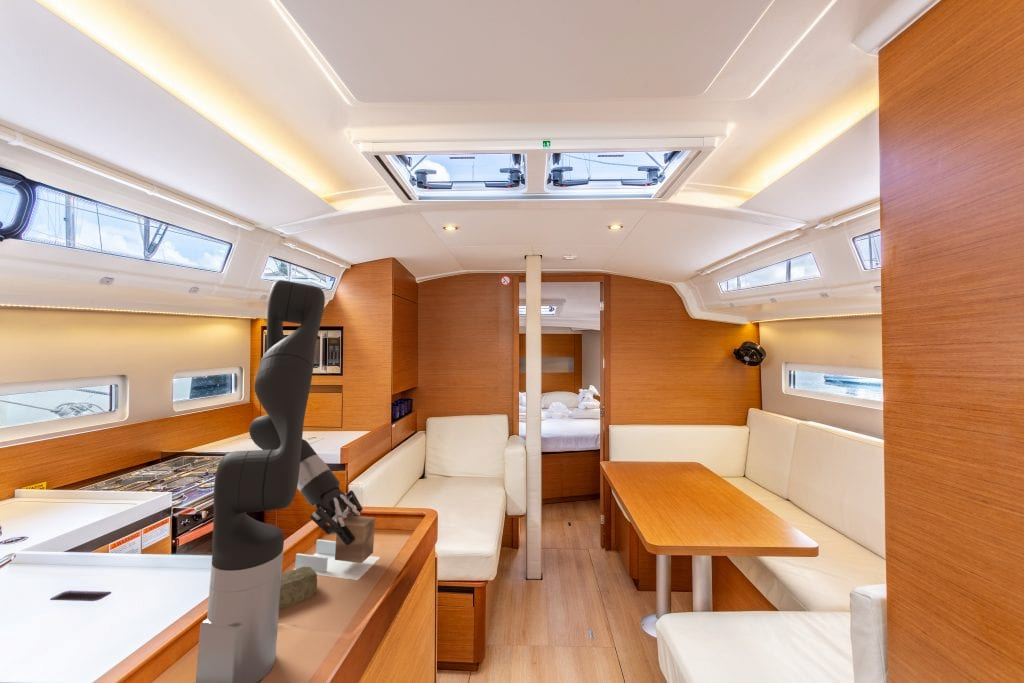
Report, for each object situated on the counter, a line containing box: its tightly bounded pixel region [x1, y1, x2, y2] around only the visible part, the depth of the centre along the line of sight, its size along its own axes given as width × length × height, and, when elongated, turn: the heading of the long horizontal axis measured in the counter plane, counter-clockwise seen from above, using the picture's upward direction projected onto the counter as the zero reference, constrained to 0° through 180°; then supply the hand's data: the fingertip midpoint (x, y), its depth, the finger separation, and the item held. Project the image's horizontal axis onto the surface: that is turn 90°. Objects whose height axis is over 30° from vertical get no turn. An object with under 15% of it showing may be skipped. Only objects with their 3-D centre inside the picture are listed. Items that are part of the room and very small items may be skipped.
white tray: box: [292, 539, 381, 581], centre depth 89 cm, size 10×20×4 cm, turn 81°
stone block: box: [279, 567, 318, 610], centre depth 75 cm, size 6×12×5 cm, turn 135°
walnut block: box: [335, 514, 376, 563], centre depth 88 cm, size 5×6×8 cm
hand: (358, 536), depth 88 cm, fingers closed on walnut block, 5 cm apart
